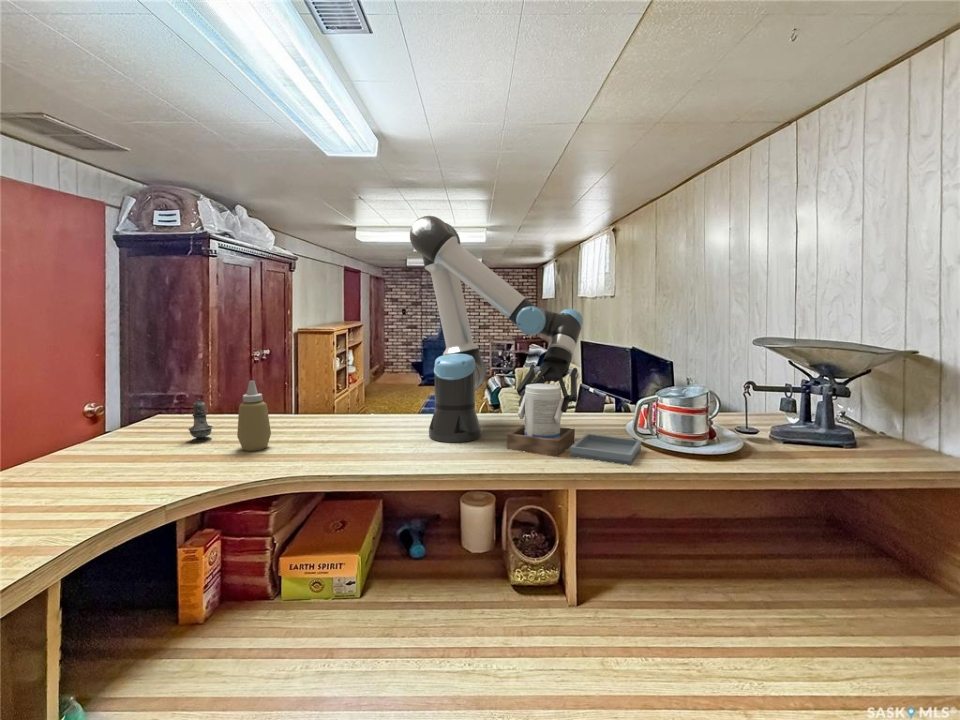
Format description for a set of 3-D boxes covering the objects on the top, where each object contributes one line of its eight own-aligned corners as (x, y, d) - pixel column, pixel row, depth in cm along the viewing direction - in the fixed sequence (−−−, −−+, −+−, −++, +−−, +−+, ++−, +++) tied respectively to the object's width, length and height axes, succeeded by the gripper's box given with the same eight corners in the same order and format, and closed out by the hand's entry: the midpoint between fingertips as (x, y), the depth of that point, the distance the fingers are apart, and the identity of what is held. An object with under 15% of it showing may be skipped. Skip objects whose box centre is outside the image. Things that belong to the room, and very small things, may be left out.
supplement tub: (566, 440, 128) (569, 386, 126) (544, 447, 121) (546, 390, 120) (538, 433, 135) (540, 381, 133) (516, 438, 128) (518, 385, 127)
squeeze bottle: (276, 448, 126) (274, 380, 124) (245, 454, 120) (241, 384, 118) (264, 442, 131) (261, 377, 129) (233, 448, 125) (229, 381, 123)
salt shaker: (184, 442, 131) (181, 399, 130) (203, 436, 137) (201, 395, 136) (199, 444, 129) (196, 400, 128) (218, 438, 135) (215, 397, 133)
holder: (507, 449, 125) (507, 434, 125) (527, 436, 138) (527, 423, 137) (557, 456, 119) (558, 441, 118) (574, 443, 131) (574, 428, 131)
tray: (570, 456, 119) (570, 446, 119) (586, 442, 132) (586, 433, 132) (630, 465, 112) (630, 455, 112) (640, 449, 125) (641, 440, 125)
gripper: (599, 364, 134) (582, 431, 122) (527, 359, 145) (503, 421, 132) (595, 347, 129) (576, 415, 117) (520, 343, 139) (496, 405, 127)
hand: (538, 418), depth 125 cm, fingers closed on supplement tub, 9 cm apart
